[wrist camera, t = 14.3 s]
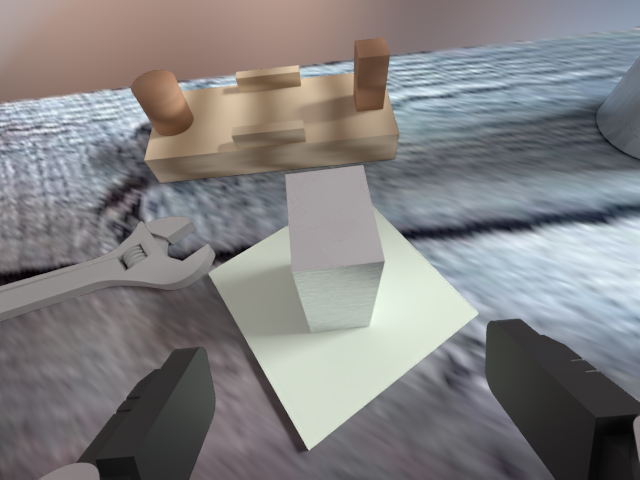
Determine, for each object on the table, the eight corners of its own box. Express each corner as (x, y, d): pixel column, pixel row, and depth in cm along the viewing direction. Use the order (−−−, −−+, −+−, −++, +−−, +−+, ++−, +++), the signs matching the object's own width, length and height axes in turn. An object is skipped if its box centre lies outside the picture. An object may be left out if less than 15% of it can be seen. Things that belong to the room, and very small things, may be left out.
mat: (353, 190, 30) (353, 185, 29) (475, 316, 23) (478, 313, 23) (210, 276, 26) (208, 272, 26) (309, 450, 20) (308, 450, 20)
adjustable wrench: (-117, 363, 25) (-147, 359, 23) (-85, 285, 28) (-110, 277, 27) (215, 282, 26) (207, 273, 25) (210, 217, 30) (202, 205, 28)
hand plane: (378, 96, 36) (386, 15, 29) (394, 158, 31) (409, 80, 24) (174, 118, 36) (133, 42, 29) (160, 183, 31) (109, 112, 25)
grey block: (356, 255, 26) (363, 164, 17) (369, 326, 23) (385, 261, 14) (304, 261, 26) (284, 174, 17) (311, 333, 23) (291, 272, 14)
